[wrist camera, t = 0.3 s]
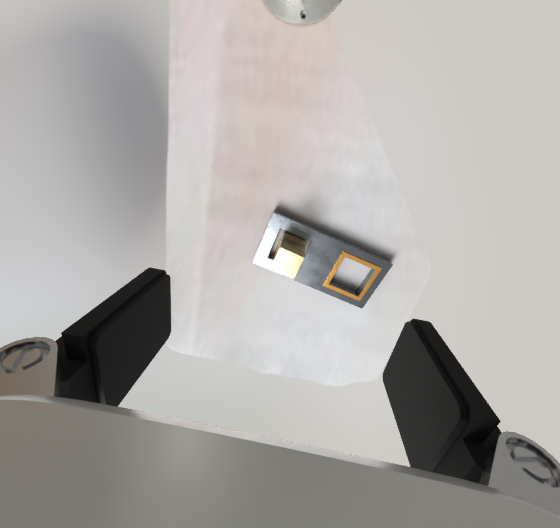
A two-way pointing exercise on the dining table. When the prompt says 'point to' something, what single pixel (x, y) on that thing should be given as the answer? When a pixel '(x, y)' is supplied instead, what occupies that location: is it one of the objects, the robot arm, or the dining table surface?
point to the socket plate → (324, 260)
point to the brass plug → (288, 256)
